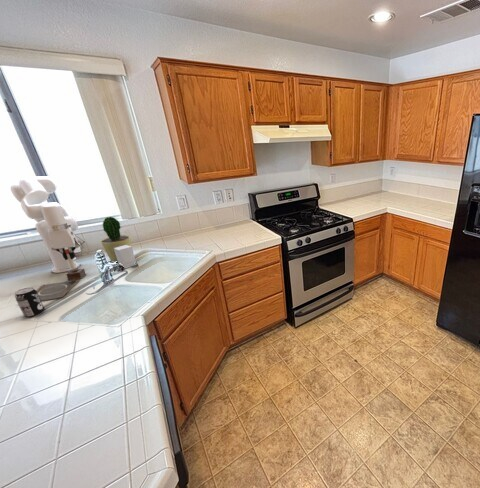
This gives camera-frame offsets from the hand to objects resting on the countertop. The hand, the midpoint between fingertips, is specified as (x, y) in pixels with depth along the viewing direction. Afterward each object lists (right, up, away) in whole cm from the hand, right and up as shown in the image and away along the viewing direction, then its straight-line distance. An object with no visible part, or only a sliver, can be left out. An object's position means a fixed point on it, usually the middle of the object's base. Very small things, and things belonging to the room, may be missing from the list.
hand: (70, 258), depth 148 cm
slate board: (+1, -17, -10) cm, 20 cm away
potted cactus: (+7, -2, +28) cm, 29 cm away
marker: (0, -6, +2) cm, 7 cm away
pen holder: (0, -11, +4) cm, 12 cm away
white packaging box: (+18, -6, +19) cm, 27 cm away
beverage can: (+12, -24, -28) cm, 39 cm away
